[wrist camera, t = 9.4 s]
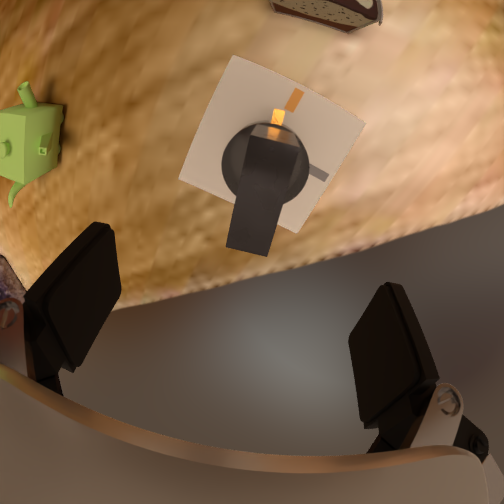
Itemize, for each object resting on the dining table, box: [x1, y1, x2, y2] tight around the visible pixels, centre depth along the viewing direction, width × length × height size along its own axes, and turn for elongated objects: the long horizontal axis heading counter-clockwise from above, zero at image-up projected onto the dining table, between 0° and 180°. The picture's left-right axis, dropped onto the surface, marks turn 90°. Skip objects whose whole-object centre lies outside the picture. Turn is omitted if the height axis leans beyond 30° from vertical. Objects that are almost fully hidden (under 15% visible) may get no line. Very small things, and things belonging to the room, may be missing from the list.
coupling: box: [221, 108, 310, 257], centre depth 22 cm, size 9×8×12 cm
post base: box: [178, 55, 366, 234], centre depth 30 cm, size 18×18×7 cm
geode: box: [0, 255, 26, 304], centre depth 52 cm, size 20×12×10 cm, turn 20°
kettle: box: [0, 81, 64, 208], centre depth 28 cm, size 15×14×11 cm
